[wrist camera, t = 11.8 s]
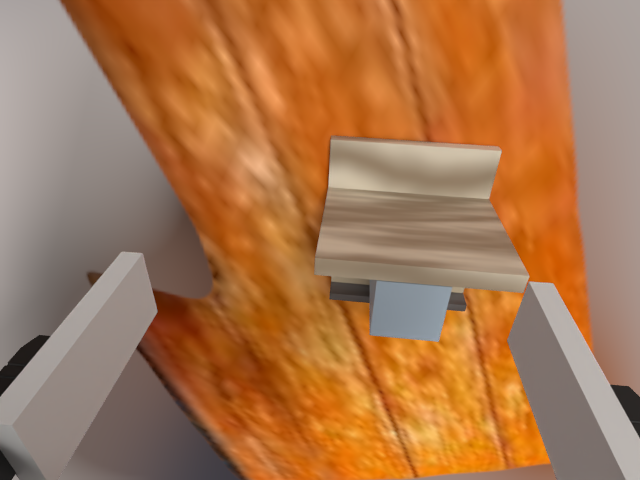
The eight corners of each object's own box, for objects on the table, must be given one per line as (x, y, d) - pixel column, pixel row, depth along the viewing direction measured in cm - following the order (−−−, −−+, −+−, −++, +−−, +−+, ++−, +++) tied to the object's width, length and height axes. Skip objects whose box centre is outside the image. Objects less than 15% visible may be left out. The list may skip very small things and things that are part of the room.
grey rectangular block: (375, 225, 42) (376, 280, 35) (437, 230, 42) (452, 287, 34) (369, 274, 46) (369, 335, 38) (426, 279, 45) (438, 341, 38)
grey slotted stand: (331, 135, 42) (317, 199, 30) (498, 146, 41) (551, 217, 29) (324, 265, 50) (311, 355, 39) (463, 277, 49) (493, 373, 38)
